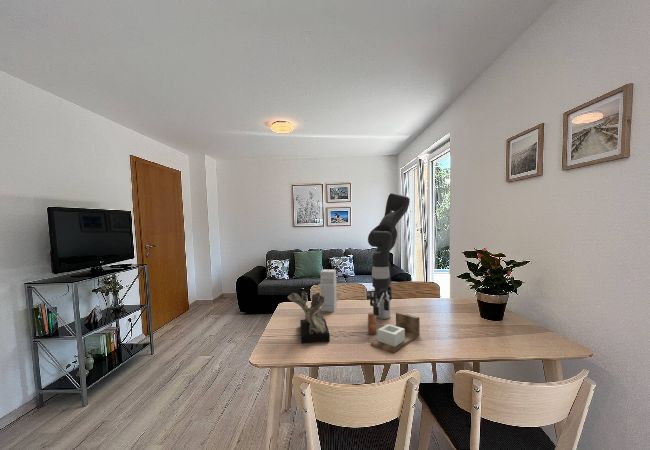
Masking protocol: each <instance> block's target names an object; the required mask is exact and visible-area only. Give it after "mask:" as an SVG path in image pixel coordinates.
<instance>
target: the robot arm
mask: <svg viewBox="0 0 650 450" xmlns="http://www.w3.org/2000/svg"><path fill="white" fill-rule="evenodd" d="M409 207H410V197H408V196H406V195H403V194H399V193H395V192H391V193H389V195H388V196H387V200H386V205H385V209H384V210H385V211H384V216H383V217H382V218H381V220H380V222H379V223H378V225H377V226H375V227H374V228H373V229H372V230H371V231H370V232H369V234H368V236H367V243H368V244H369V246H370V247H373V248H376V250H375V252H373V254H372V259H371V260H372V261H371V265H370V266H371V267H370V272H371V276H372V279H371V280H372V282H371V283H372V288H374V289H373V290H374V291H370V293H369V294H370V295H369V306H370V307H372V313H374V315H376V319H380V320H386V319H390V318H391V300H393V297H392V296H393V294H392V286H391V285H392V264H391V262H390V261H389V257H390V251H392V249H393V248H394V247H395V245H396V243H397V237H398V231H397V228H396V226H397V224H398V223H399V222H400V220H401V219H402V218H403V216H404V215H405V214H406V212H407V211H408V208H409Z"/></svg>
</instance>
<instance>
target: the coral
mask: <svg viewBox="0 0 650 450" xmlns="http://www.w3.org/2000/svg"><path fill="white" fill-rule="evenodd" d="M287 299H288V300H289V301H291V302H293V303H294V304H295V305H298V306H299V307H301V310H303V312H304V314H305V316H304V319H300V320H299V321H300V322H299V323H300V324H299V325H300V339H301V340H300V341H301V342H300V343H301V344H311V343H312V344H313V343H327V342H330V341H331V338H330V337H331V336H330V335H331V334H330V330H329V328H328V325H327V321H326V319H325V318H324V315H321V314H320V313H318V312H317V311H319V309H321V305H322V304H323V303H324V299H325V297H324V296H322V295H321V292H317V293H314V294H312V295H311V302H310V307H309V306H308V305H307V301H308V300H307V292H306V291H302V292H301V295H300V294H298V293H297V292H292V293H290V294H289V295H288V296H287ZM316 312H317V313H316Z"/></svg>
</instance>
